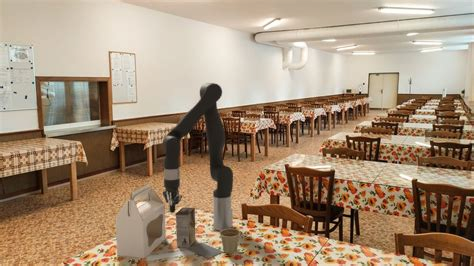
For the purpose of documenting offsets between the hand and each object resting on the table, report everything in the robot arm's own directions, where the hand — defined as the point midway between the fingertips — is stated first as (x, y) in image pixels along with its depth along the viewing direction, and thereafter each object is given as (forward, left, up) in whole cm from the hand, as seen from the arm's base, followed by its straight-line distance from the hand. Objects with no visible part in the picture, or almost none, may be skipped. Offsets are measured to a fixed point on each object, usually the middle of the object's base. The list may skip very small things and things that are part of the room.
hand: (172, 212), depth 179 cm
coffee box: (0, +10, -13) cm, 16 cm away
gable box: (+16, -2, -13) cm, 21 cm away
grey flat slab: (-1, +22, -13) cm, 26 cm away
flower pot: (-8, +31, -13) cm, 35 cm away
